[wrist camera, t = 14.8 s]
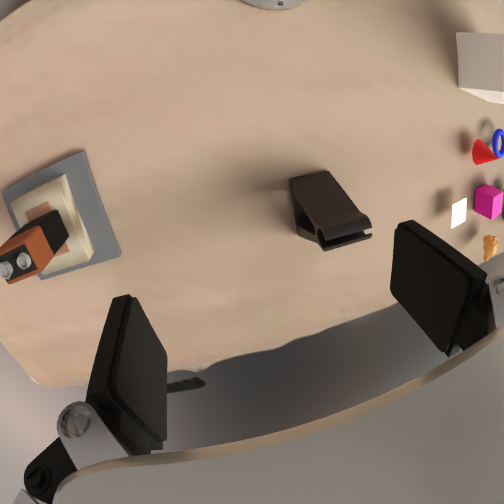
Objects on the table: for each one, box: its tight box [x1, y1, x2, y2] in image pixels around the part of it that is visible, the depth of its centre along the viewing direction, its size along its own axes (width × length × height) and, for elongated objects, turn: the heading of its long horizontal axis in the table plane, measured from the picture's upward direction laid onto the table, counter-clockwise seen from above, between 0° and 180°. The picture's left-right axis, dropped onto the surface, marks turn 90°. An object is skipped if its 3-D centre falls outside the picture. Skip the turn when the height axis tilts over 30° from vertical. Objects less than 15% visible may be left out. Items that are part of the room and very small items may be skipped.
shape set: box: [451, 129, 504, 261], centre depth 44 cm, size 29×35×7 cm
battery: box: [0, 210, 69, 284], centre depth 27 cm, size 4×7×10 cm, turn 102°
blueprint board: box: [2, 150, 122, 280], centre depth 35 cm, size 16×16×1 cm
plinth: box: [10, 174, 95, 275], centre depth 33 cm, size 12×9×3 cm
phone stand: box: [289, 171, 372, 251], centre depth 36 cm, size 9×6×12 cm, turn 11°
